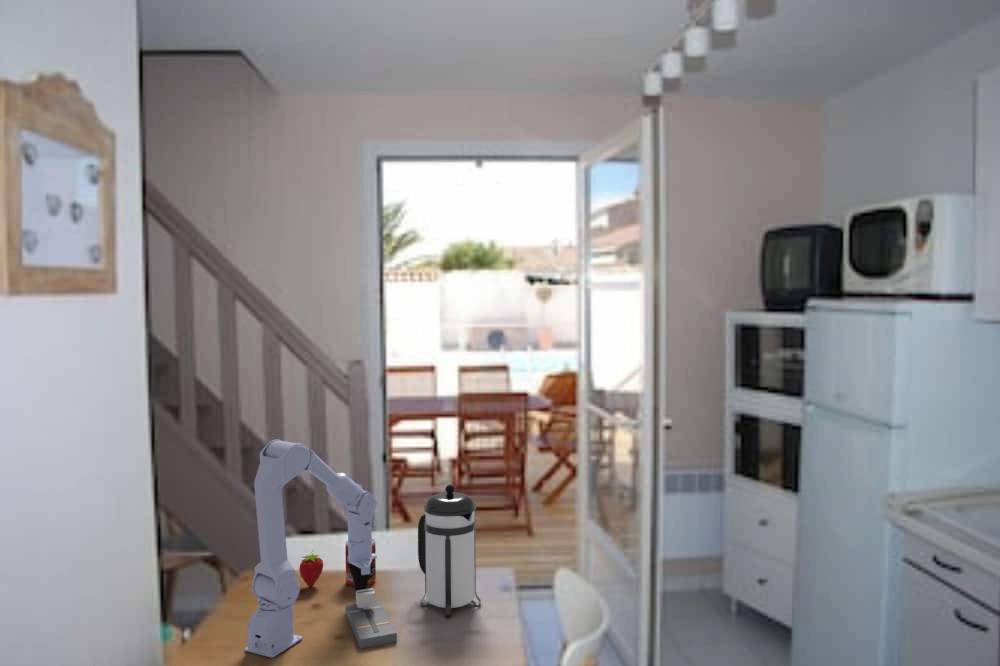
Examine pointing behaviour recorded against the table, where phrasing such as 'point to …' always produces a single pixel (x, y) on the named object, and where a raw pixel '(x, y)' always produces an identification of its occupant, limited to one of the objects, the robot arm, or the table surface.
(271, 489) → the robot arm
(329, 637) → the table surface
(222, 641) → the table surface
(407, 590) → the table surface
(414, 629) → the table surface
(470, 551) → the coffee press
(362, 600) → the fader knob
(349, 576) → the canned food
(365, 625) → the fader board
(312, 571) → the strawberry
